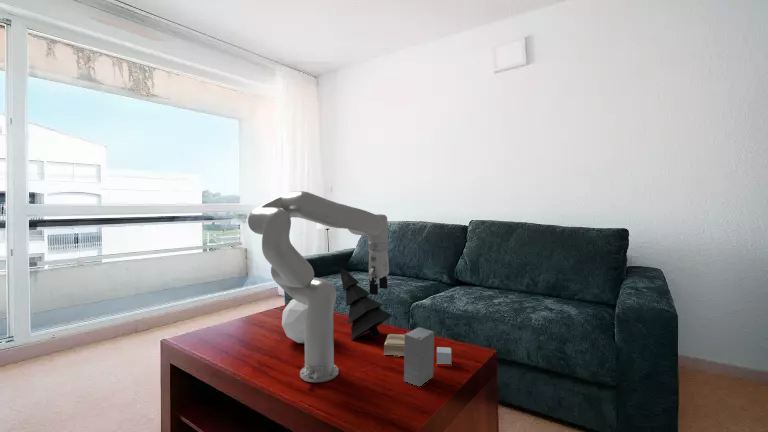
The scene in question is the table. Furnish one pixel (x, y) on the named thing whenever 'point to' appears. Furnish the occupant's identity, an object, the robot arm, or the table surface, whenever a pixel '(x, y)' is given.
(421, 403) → the table surface
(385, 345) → the plinth
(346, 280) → the decorative tree
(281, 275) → the robot arm
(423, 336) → the skincare box
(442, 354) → the block
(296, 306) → the geometric sculpture
